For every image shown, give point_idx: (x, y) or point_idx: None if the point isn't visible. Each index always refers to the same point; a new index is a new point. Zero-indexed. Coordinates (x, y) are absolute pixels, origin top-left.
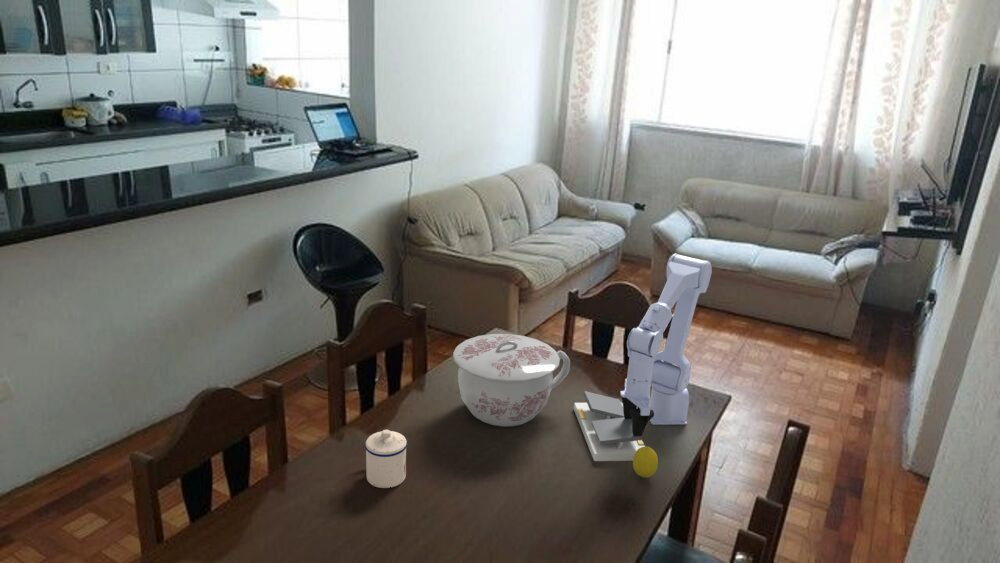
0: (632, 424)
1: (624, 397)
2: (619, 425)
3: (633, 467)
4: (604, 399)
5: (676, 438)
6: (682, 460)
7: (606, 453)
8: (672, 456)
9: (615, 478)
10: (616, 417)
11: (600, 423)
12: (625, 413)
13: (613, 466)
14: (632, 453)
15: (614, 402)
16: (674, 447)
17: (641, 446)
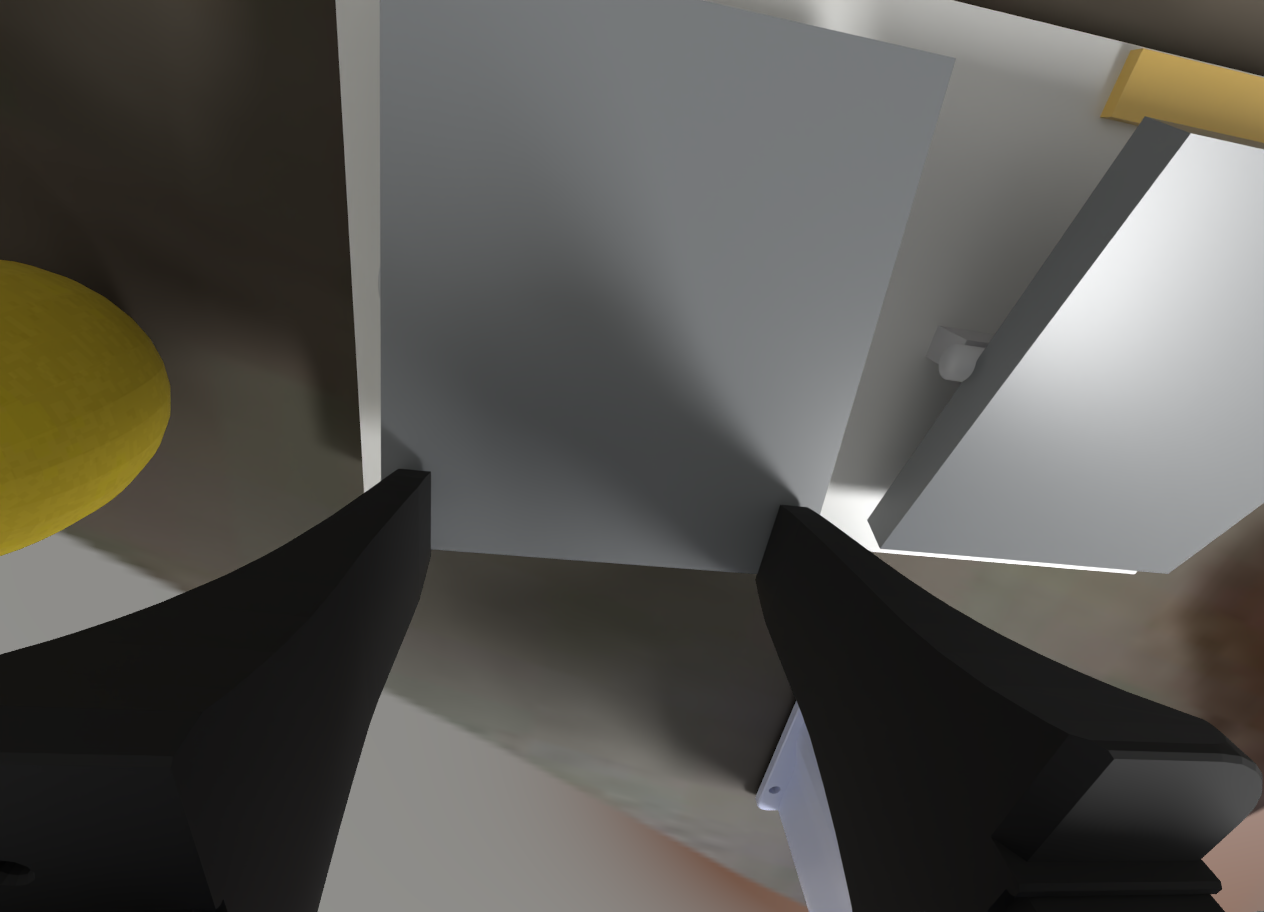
0: (355, 537)
1: (979, 735)
2: (687, 395)
3: (6, 260)
4: (1256, 441)
5: (637, 717)
6: (389, 674)
7: (345, 53)
8: (438, 638)
9: (25, 32)
10: (923, 443)
11: (837, 166)
12: (809, 547)
13: (272, 116)
14: (357, 370)
15: (1148, 519)
16: (542, 679)
17: None
